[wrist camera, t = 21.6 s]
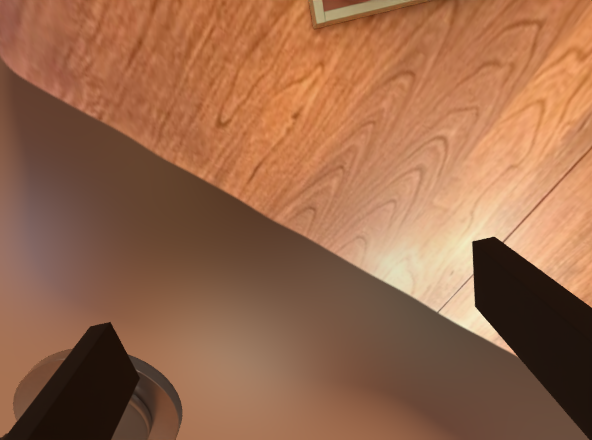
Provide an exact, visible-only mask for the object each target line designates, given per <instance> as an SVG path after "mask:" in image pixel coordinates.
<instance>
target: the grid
mask: <svg viewBox="0 0 592 440" xmlns="http://www.w3.org/2000/svg"><path fill="white" fill-rule="evenodd" d="M427 1H431V0H309V5H310V11H311V17H312V22H313V28H314V29H316V28H320V27H325V26H329V25H333V24H337V23H341V22H345V21H349V20H353V19H357V18H361V17H366V16H370V15H374V14H378V13H382V12H386V11H390V10H394V9H398V8H402V7H407V6H411V5H415V4H419V3H423V2H427Z"/></svg>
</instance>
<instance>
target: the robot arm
mask: <svg viewBox="0 0 592 440" xmlns="http://www.w3.org/2000/svg"><path fill="white" fill-rule="evenodd" d="M472 246H473V269H474V292H475V307H476V308H477V309H478V310H479V312H480V313H481V314H482V315H483V316H484V317H485V319H486V320H487V321H488V322H489V323H490V324H491V325H492V327H493V328H494V329H495V330H496V331H497V332H498V334H499V335H500V336H501V337H502V338H503V339H504V341H505V342H506V343H507V344H508V345H509V346H510V348H511V349H512V350H513V351H514V352H515V353H516V355H517V356H518V357H519V358H520V359H521V360H522V362H524V364H525V365H526V366H527V367H528V369H529V370H530V371H531V372H532V373H533V374H534V375H535V377H536V378H537V379H538V380H539V381H540V382H541V384H542V385H543V386H544V387H545V388H546V389H547V391H548V392H549V393H550V394H551V395H552V396H553V398H554V399H555V400H556V401H557V402H558V403H559V405H560V406H561V407H562V408H563V409H564V411H565V412H566V413H567V414H568V415H569V416H570V417H571V419H572V420H573V421H574V422H575V423H576V424H577V426H578V427H579V428H580V429H581V430H582V431H583V433H584V434H585V435H586V436H587V437H588V438H589V440H592V308H591V307H590V306H589V305H587V304H586V303H584V302H583V301H582V300H580V299H579V298H578V297H576V296H575V295H573V294H572V293H571V292H569V291H568V290H567V289H565V288H564V287H563V286H561V285H560V284H558V283H557V282H556V281H554V280H553V279H552V278H550V277H549V276H548V275H546V274H545V273H543V272H542V271H541V270H539V269H538V268H537V267H535V266H534V265H533V264H531V263H530V262H528V261H527V260H526V259H524V258H523V257H522V256H520V255H519V254H518V253H516V252H515V251H513V250H512V249H511V248H509V247H508V246H507V245H505V244H504V243H503V242H501V241H500V240H498V239H497V238H496V237H491V238H486V239H482V240H477V241H473V242H472ZM139 379H140V377H139V375H138V373H137V371H136V369H135V367H134V366H133V364H132V362H131V360H130V358H129V356H128V354H127V352H126V351H125V349H124V347H123V345H122V343H121V341H120V339H119V337H118V336H117V334H116V332H115V330H114V328H113V326H112V324H111V322H109V323H104V324H99V325H95V326H91V327H90V328H89V329H88V330H87V332H86V333H85V334H84V335H83V337H82V338H81V339H80V341H79V342H78V343H77V344H76V346H75V347H74V348H73V350H72V351H71V352H70V353H69V355H68V356H67V357H66V359H65V360H64V361H63V363H62V364H61V365H60V366H59V368H58V369H57V370H56V372H55V373H54V374H53V376H52V377H51V378H50V379H49V381H48V382H47V383H46V385H45V386H44V387H43V389H42V390H41V391H40V392H39V394H38V395H37V396H36V398H35V399H34V400H33V402H32V403H31V404H30V405H29V407H28V408H27V409H26V411H25V412H24V413H23V415H22V416H21V417H20V418H19V420H18V421H17V422H16V424H15V425H14V426H13V428H12V429H11V430H10V431H9V433H8V434H5V435H4V436H3V437H2V438H0V440H148V437H149V435H150V432H151V428H152V420H151V416H150V413H149V411H148V409H147V407H146V406H145V405H144V403H143V402H142V401H141V400H140V399H139V398H138V397H136V396H135V395H134V394H133V392H134V390H135V388H136V386H137V384H138V381H139Z"/></svg>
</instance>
